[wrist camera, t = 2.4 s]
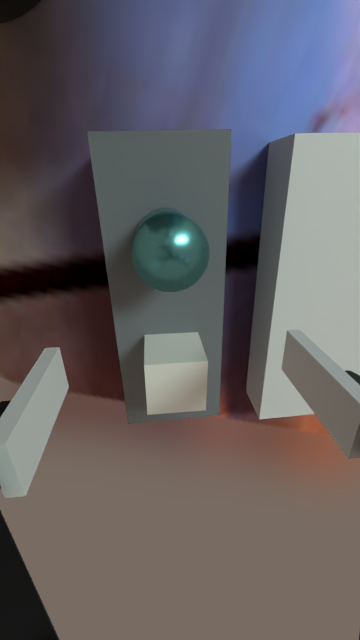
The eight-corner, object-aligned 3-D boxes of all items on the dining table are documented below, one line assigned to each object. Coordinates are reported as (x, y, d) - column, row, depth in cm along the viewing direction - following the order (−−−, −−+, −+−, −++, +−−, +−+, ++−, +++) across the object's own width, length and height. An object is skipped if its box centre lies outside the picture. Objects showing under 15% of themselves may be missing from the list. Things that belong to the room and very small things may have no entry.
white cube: (144, 334, 24) (144, 365, 20) (197, 332, 24) (208, 361, 20) (147, 378, 26) (147, 414, 22) (196, 375, 26) (205, 410, 22)
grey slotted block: (104, 147, 25) (87, 131, 17) (207, 145, 25) (231, 129, 18) (132, 374, 35) (128, 423, 28) (204, 368, 36) (219, 414, 28)
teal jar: (132, 209, 19) (127, 216, 15) (195, 206, 20) (209, 212, 15) (138, 271, 21) (136, 294, 17) (196, 267, 22) (209, 289, 17)
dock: (269, 142, 25) (295, 133, 21) (414, 140, 27) (468, 130, 22) (245, 391, 37) (259, 419, 33) (346, 382, 39) (372, 408, 34)
